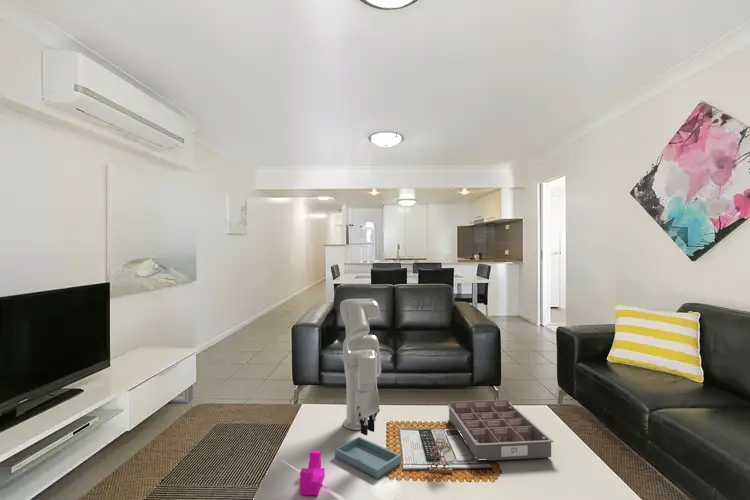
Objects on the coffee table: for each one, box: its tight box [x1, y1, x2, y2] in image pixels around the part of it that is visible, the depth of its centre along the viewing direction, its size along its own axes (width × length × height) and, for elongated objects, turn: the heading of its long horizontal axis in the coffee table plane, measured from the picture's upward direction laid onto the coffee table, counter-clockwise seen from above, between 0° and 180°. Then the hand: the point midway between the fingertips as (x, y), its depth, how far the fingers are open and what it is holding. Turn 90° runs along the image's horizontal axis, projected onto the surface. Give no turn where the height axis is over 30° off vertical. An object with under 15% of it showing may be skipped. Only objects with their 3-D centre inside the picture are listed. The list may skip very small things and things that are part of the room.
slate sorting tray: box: [334, 436, 402, 481], centre depth 153 cm, size 14×23×4 cm, turn 48°
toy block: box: [299, 449, 326, 496], centre depth 140 cm, size 15×6×8 cm, turn 175°
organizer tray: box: [446, 399, 554, 461], centre depth 171 cm, size 32×40×10 cm
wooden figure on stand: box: [428, 437, 454, 474], centre depth 147 cm, size 9×4×12 cm, turn 86°
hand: (367, 432), depth 153 cm, fingers open, 3 cm apart
